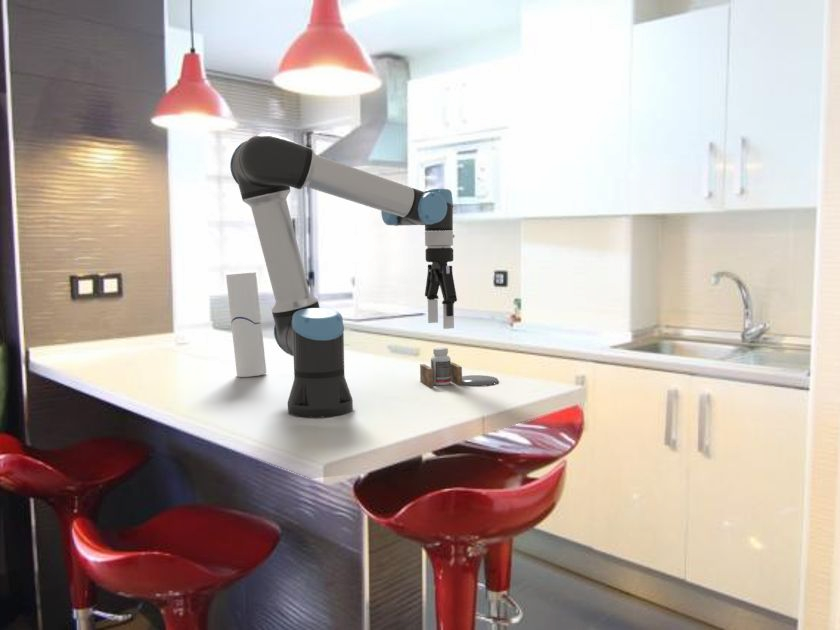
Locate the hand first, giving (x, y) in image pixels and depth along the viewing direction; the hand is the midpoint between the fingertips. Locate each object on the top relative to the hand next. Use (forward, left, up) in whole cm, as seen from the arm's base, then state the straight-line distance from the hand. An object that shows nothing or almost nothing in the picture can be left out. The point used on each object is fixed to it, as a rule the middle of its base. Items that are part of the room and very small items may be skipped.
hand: (440, 325), depth 191 cm
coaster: (-1, -10, -16) cm, 19 cm away
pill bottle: (0, 0, -16) cm, 16 cm away
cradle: (0, 0, -16) cm, 16 cm away
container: (+31, +49, -16) cm, 60 cm away
